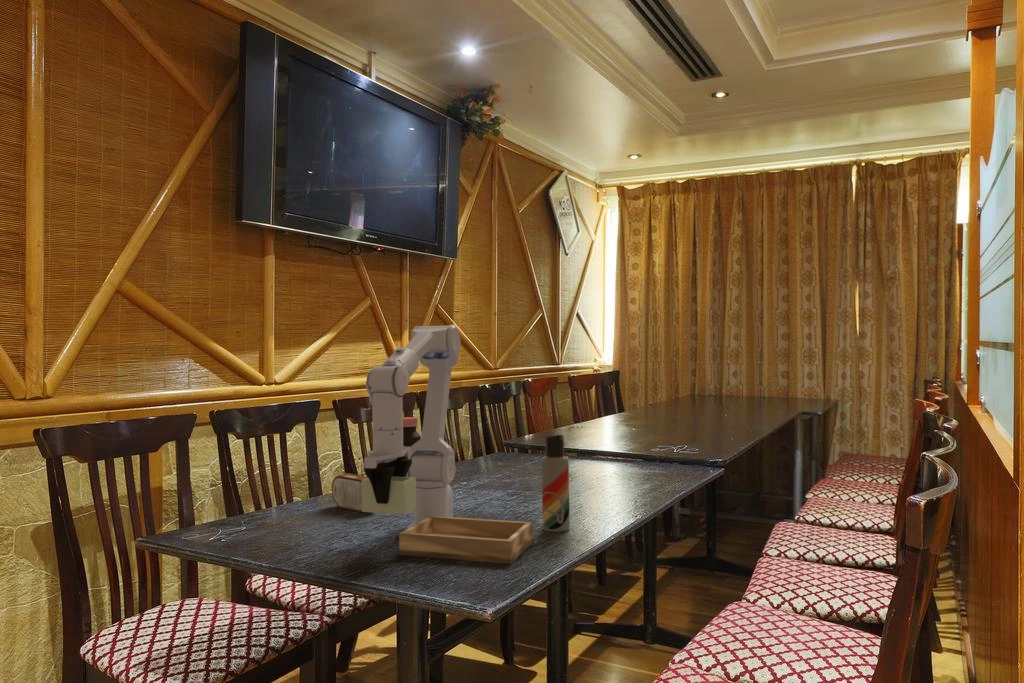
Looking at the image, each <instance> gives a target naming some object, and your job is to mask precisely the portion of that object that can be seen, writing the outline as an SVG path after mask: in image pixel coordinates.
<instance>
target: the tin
mask: <svg viewBox="0 0 1024 683" xmlns="http://www.w3.org/2000/svg"><path fill="white" fill-rule="evenodd" d="M366 478H368V476H367V475H365V476H364V475H359V474H354V473H348V472H345V473H343V474H340V475H337V476H335V477H334V478H333V480H332V481H331V493H332V499H333V501H334V502H335V504H336V506H337V507H339V508H340V509H344V510H347V511H348V510H349V511H353V512H356V513H363V512H362V484H361V480H363V479H366Z"/></svg>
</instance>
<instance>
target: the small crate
mask: <svg viewBox="0 0 1024 683" xmlns="http://www.w3.org/2000/svg"><path fill="white" fill-rule="evenodd" d="M361 484H362V512H361V513H374V514H388V515H389V514H391V515H392V514H393V515H406V514H409V513H411V512H413V511H414V510H415V509H416V477H395V476H392V478H391V483H390V493H389V500H388V503H387V504H381V503H377V502H376V499H375V495H374V491H373V488H372V485H371V482H370V480H369V478H366V479H363V480H361Z"/></svg>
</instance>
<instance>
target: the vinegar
mask: <svg viewBox="0 0 1024 683" xmlns="http://www.w3.org/2000/svg"><path fill="white" fill-rule="evenodd" d="M417 428H418V418H417V417H415V416H411V417H410V416H409V417H408V416H407V417H405V416H403V446H407V447H411V446H412V445H414V444H415V443H416V442H418V441H419V440H420V439H421V438H422V435H421V434H420V433H419V432H418V431H417ZM407 458H408V457H405V459H407Z"/></svg>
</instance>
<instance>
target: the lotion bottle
mask: <svg viewBox="0 0 1024 683" xmlns="http://www.w3.org/2000/svg"><path fill="white" fill-rule="evenodd" d="M564 440H565V438H564V435H562V434H556V435H555V434H554V435H548V436H547V435H546V436H545V456H543V457H542V458H541V499H542V500H541V501H542V502H541V503H542V506H541V507H542V508H541V510H542V512H541V513H542V529H543V530H544V531H545V532H549V533H562V532H563V533H564V532H567V531H569V530H570V523H571V521H570V517H571V516H570V479H569V478H570V474H569V472H570V468H569V467H570V466H569V457H567V456H565V441H564Z"/></svg>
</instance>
